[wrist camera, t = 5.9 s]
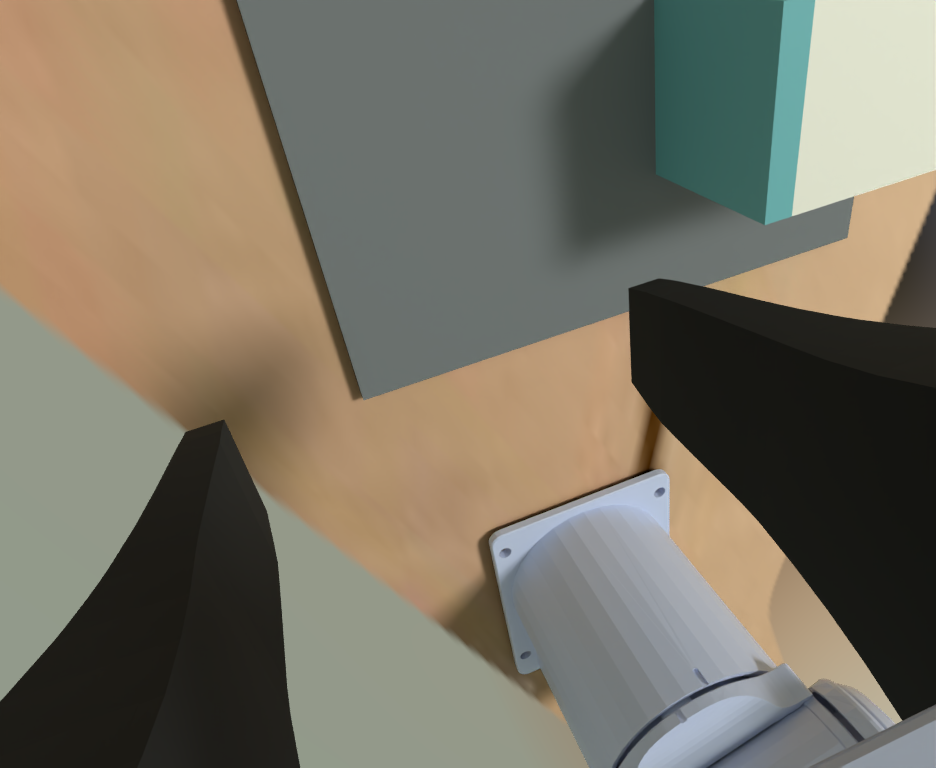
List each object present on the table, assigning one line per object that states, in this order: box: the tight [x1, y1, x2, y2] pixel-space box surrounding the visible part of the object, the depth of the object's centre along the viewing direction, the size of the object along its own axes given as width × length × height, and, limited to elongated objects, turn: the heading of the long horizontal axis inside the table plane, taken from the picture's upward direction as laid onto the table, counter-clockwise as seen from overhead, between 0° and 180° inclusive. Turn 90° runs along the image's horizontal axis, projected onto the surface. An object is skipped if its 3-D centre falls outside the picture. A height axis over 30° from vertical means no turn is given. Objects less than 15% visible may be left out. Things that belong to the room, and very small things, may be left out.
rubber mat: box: [236, 0, 854, 400], centre depth 20 cm, size 13×18×1 cm
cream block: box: [654, 0, 936, 225], centre depth 18 cm, size 5×5×7 cm
